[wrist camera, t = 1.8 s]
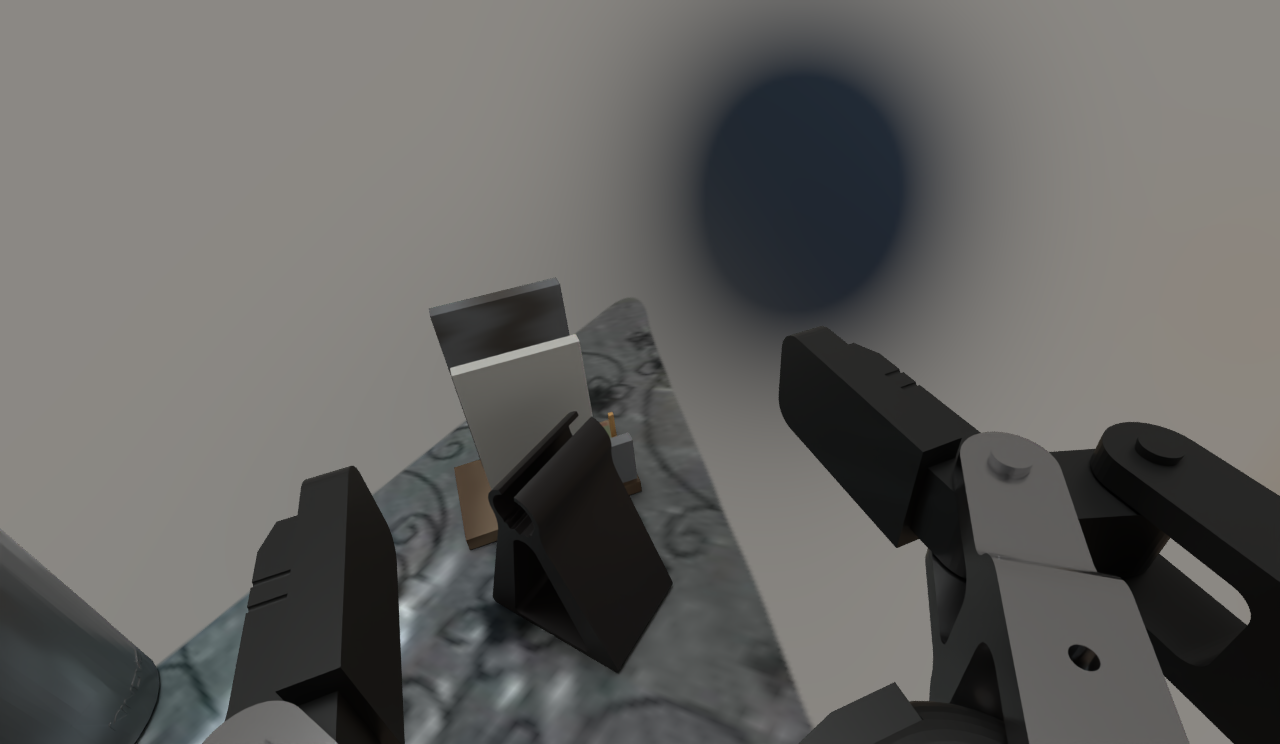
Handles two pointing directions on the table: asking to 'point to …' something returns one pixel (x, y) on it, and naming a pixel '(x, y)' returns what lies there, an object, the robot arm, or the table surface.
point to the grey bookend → (485, 334)
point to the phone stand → (576, 546)
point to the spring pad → (528, 404)
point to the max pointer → (612, 424)
